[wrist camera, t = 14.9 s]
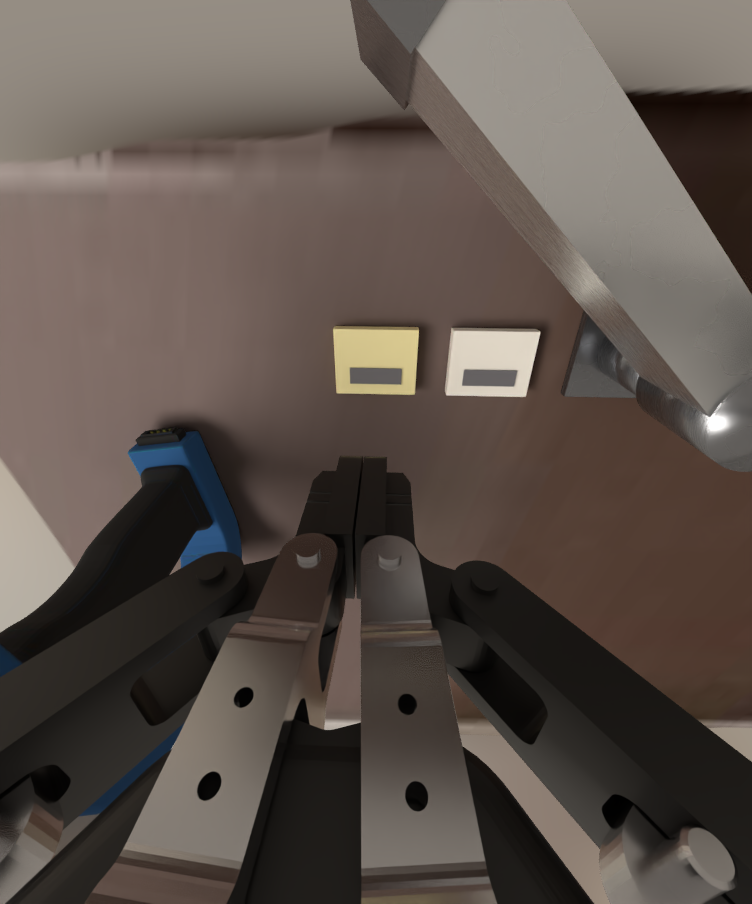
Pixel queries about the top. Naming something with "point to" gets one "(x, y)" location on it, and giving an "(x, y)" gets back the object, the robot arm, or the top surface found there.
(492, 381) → the label plate
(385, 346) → the label plate
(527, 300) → the top surface
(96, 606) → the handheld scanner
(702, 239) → the bar
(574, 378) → the gray square plate
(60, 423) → the top surface
